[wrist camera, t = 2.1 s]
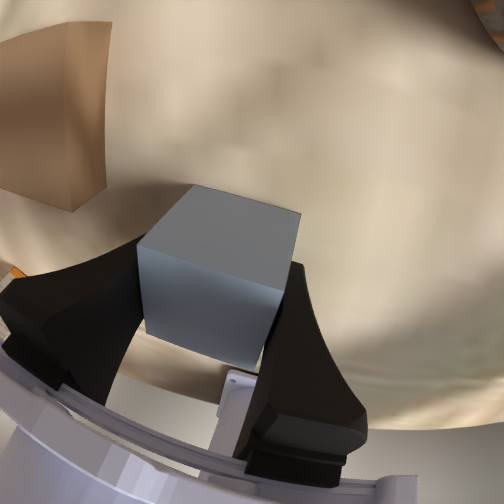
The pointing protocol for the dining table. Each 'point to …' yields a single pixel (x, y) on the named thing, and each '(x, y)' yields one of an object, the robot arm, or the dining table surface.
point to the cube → (216, 273)
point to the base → (54, 113)
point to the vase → (492, 18)
